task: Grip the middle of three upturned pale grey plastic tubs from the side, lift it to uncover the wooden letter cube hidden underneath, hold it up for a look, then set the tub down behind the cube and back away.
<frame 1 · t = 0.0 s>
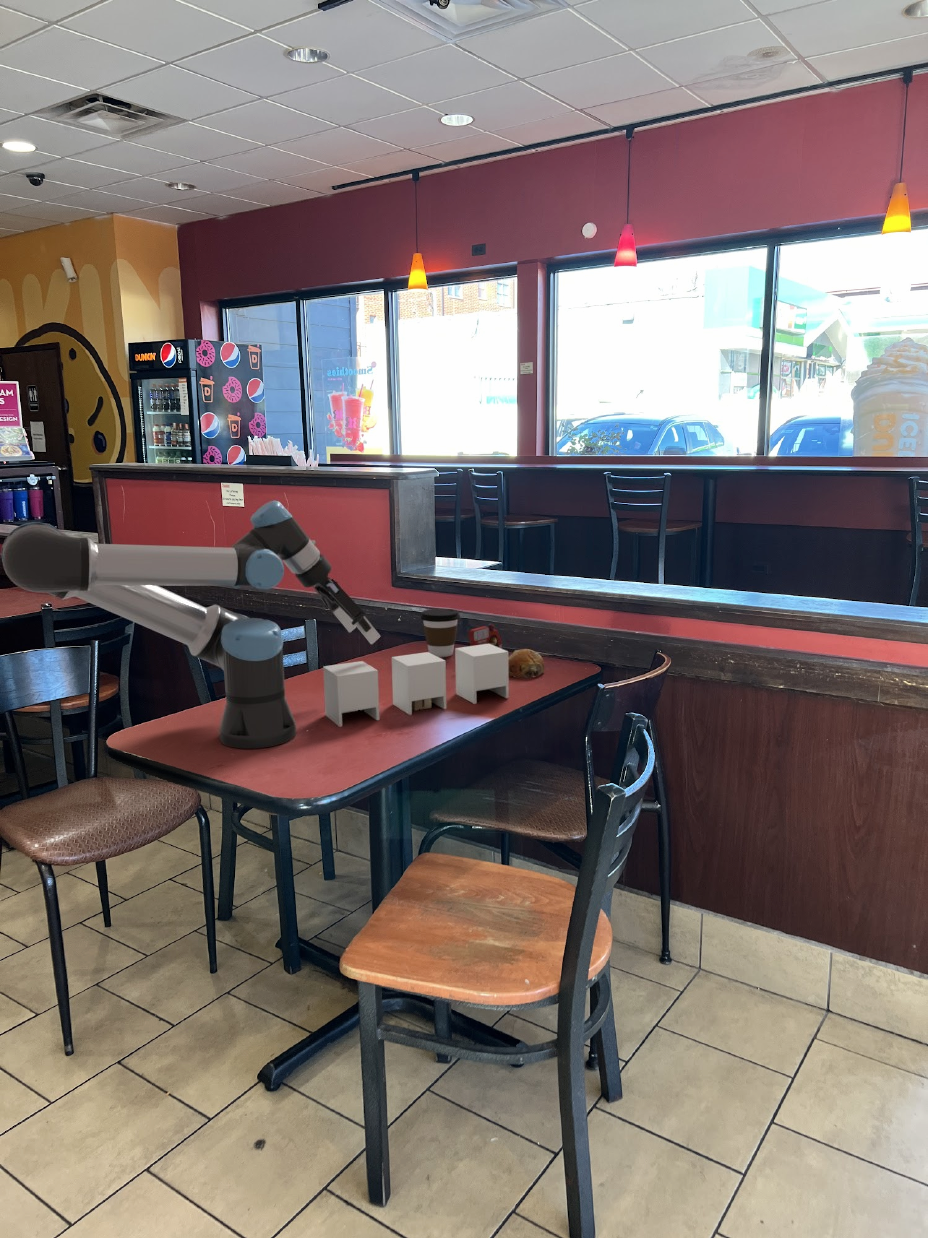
hand: (364, 634, 202), 15 cm above the table, tool tilted 35°, fingers open, 13 cm apart
coffee cup: (441, 655, 245), on the table
tub middle: (419, 706, 199), on the table
grey piece: (352, 717, 192), on the table
toy fire truck: (486, 664, 235), on the table
letter cube: (419, 698, 199), in the tub middle
tub right: (482, 695, 206), on the table
bread roll: (524, 674, 225), on the table
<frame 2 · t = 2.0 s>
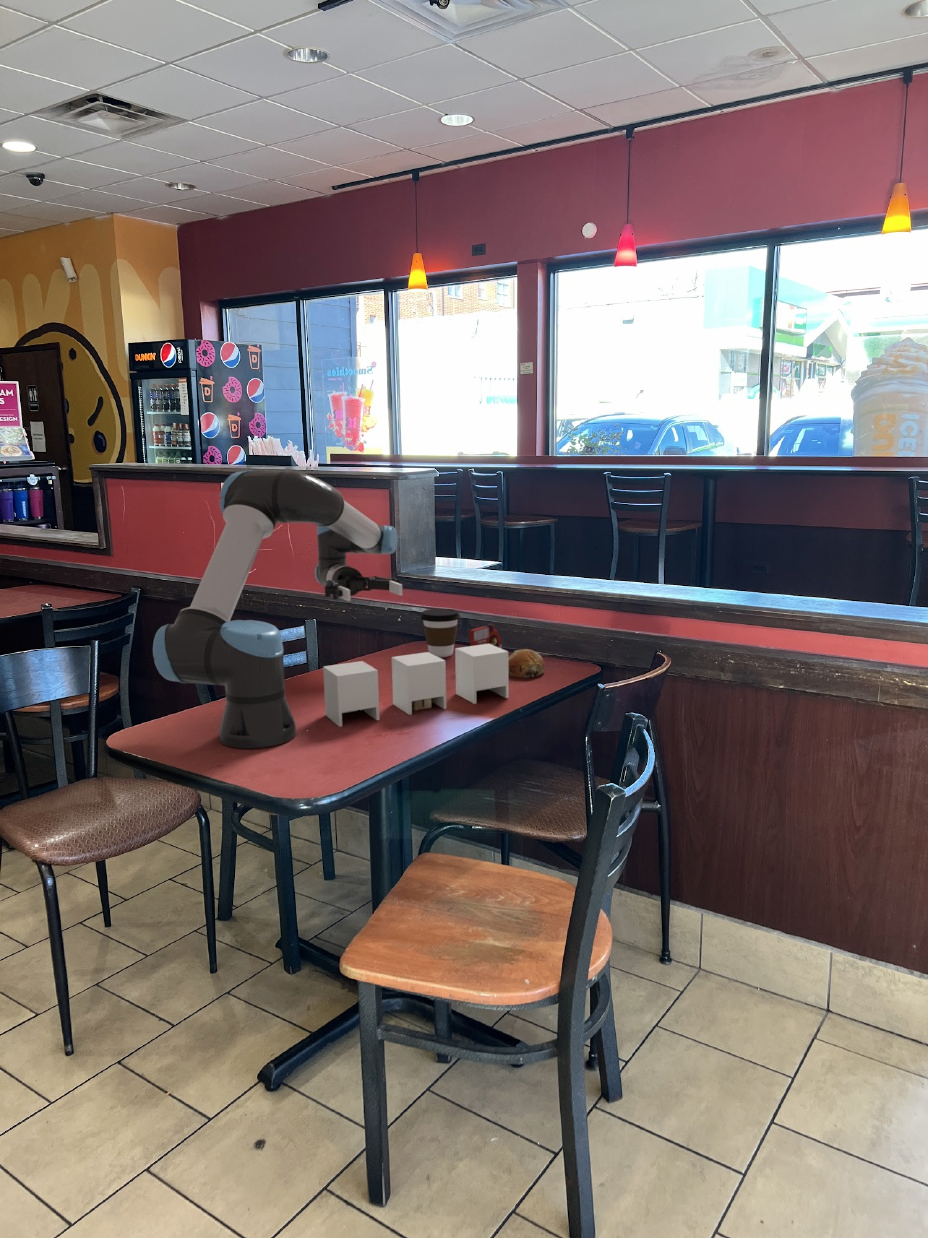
hand: (375, 592, 216), 22 cm above the table, tool horizontal, fingers open, 13 cm apart
nothing on the table moved.
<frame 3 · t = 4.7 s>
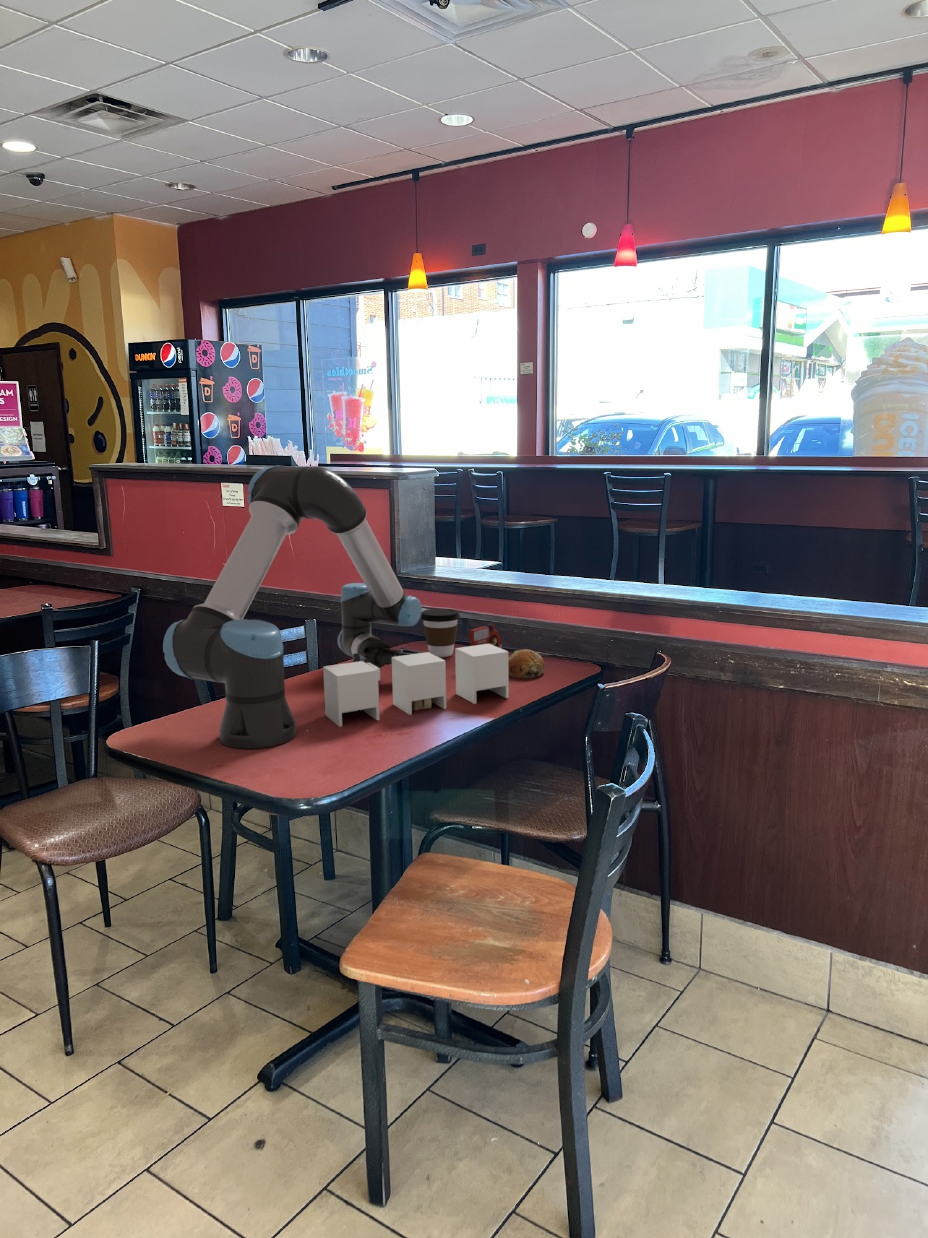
hand: (406, 670, 205), 6 cm above the table, tool horizontal, fingers open, 13 cm apart
nothing on the table moved.
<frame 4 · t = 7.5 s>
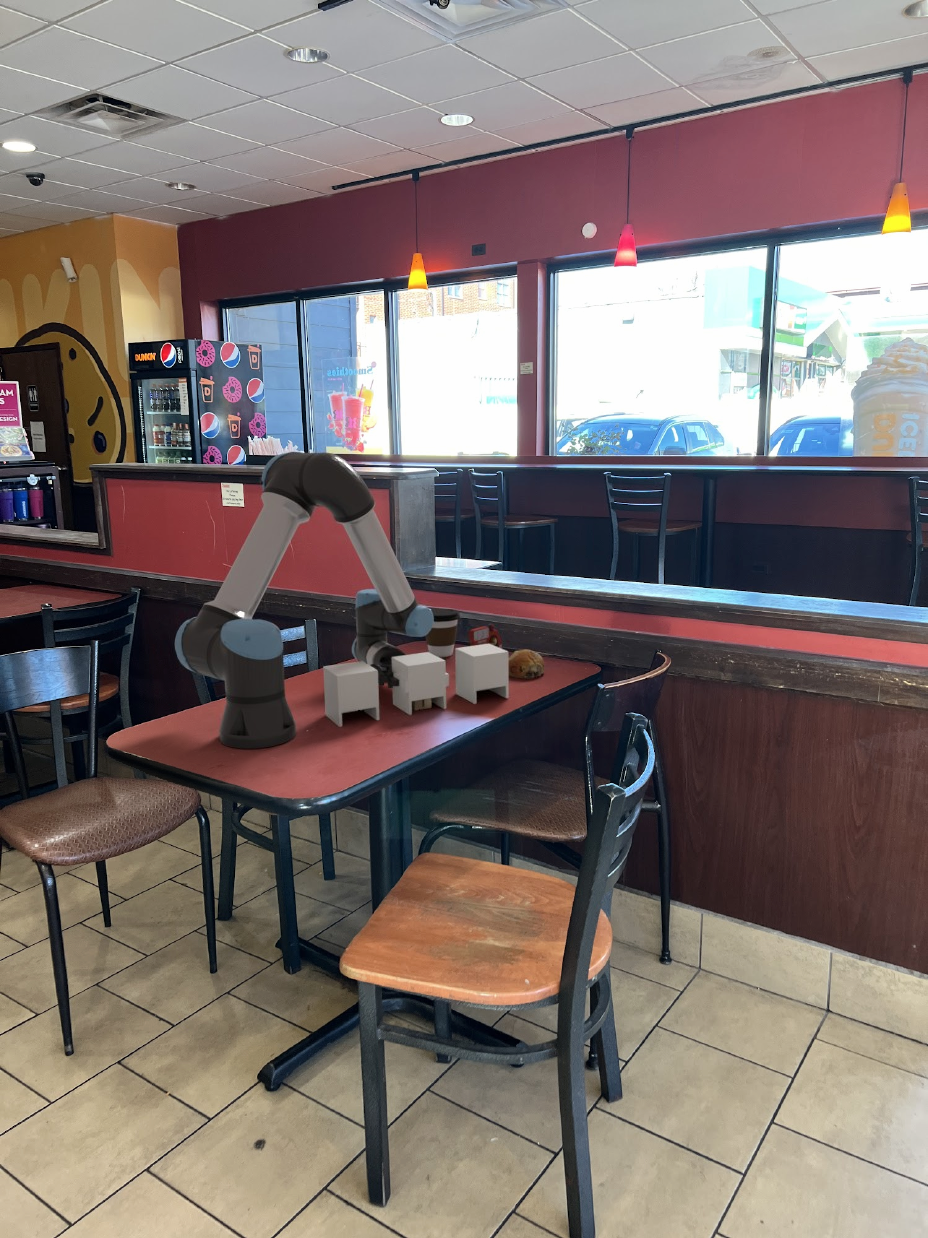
hand: (427, 683, 194), 7 cm above the table, tool horizontal, fingers closed on tub middle, 9 cm apart
tub middle: (419, 706, 199), on the table, touching gripper
everything else where it was.
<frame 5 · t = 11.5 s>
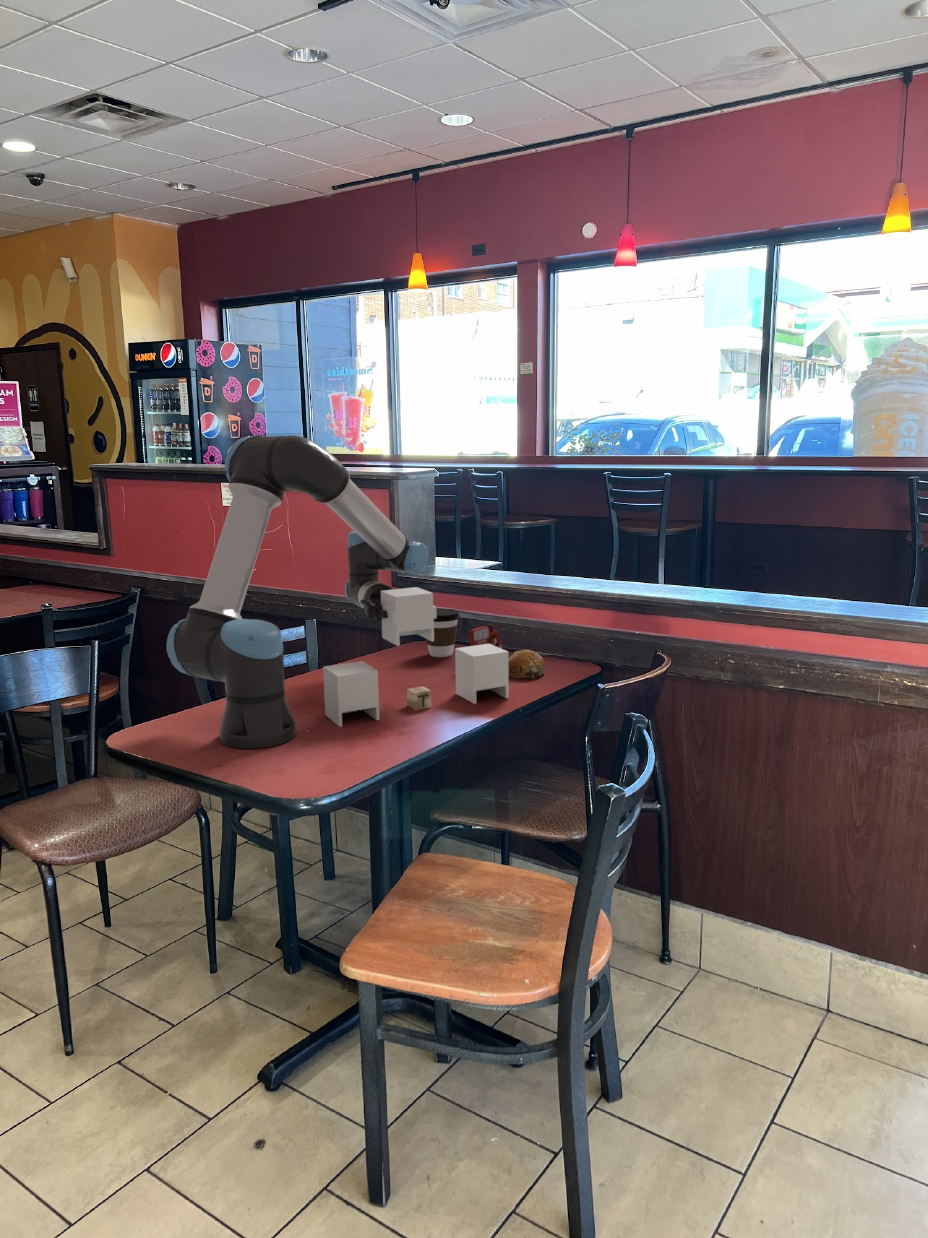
hand: (415, 614, 197), 20 cm above the table, tool horizontal, fingers closed on tub middle, 9 cm apart
tub middle: (407, 639, 202), point 14 cm above the table, touching gripper
everything else where it was.
when the fingers open (8 cm above the table, at t = 15.4 s): tub middle drops 1 cm, on the table.
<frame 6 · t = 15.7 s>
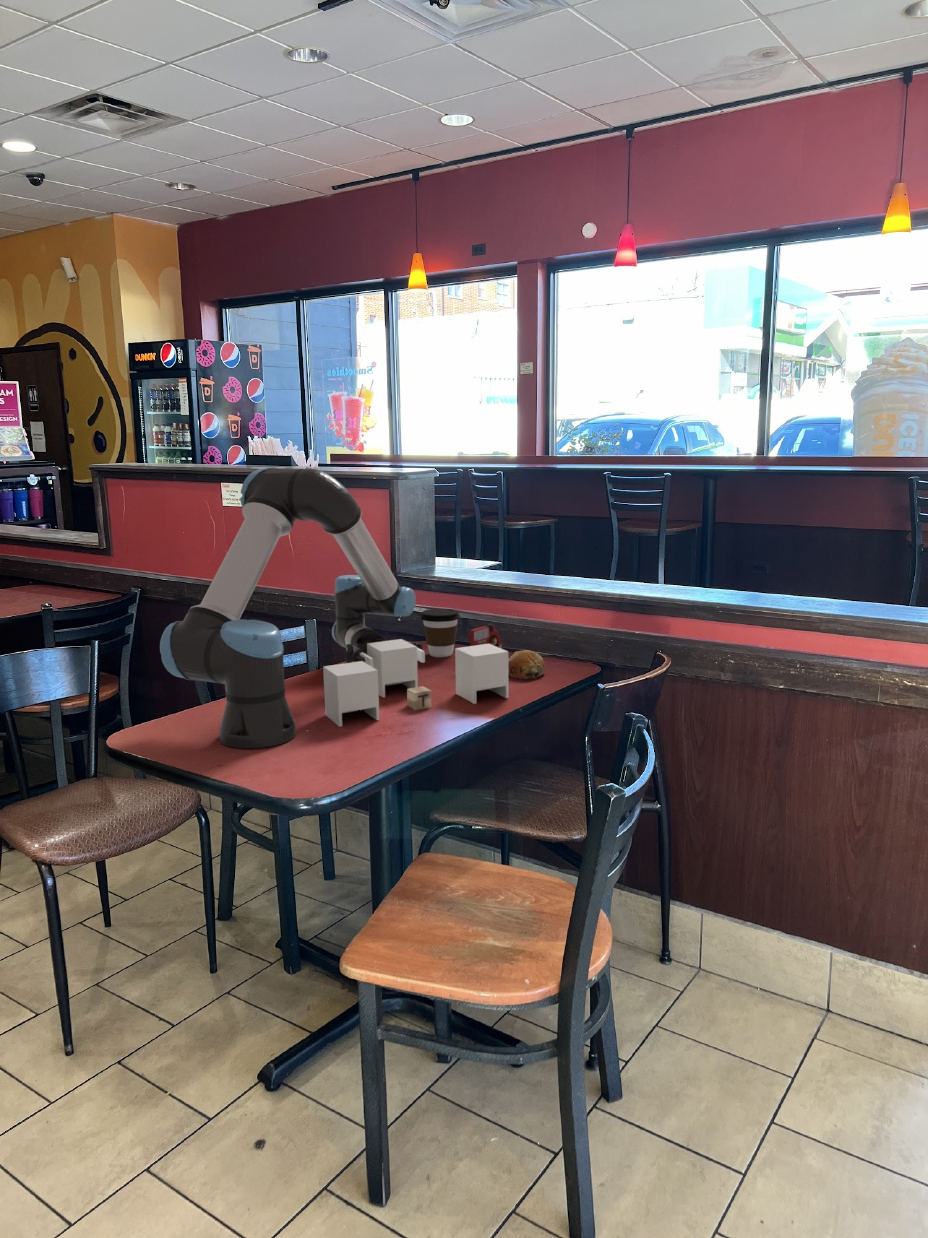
hand: (397, 660, 207), 8 cm above the table, tool horizontal, fingers open, 12 cm apart
tub middle: (393, 689, 212), on the table
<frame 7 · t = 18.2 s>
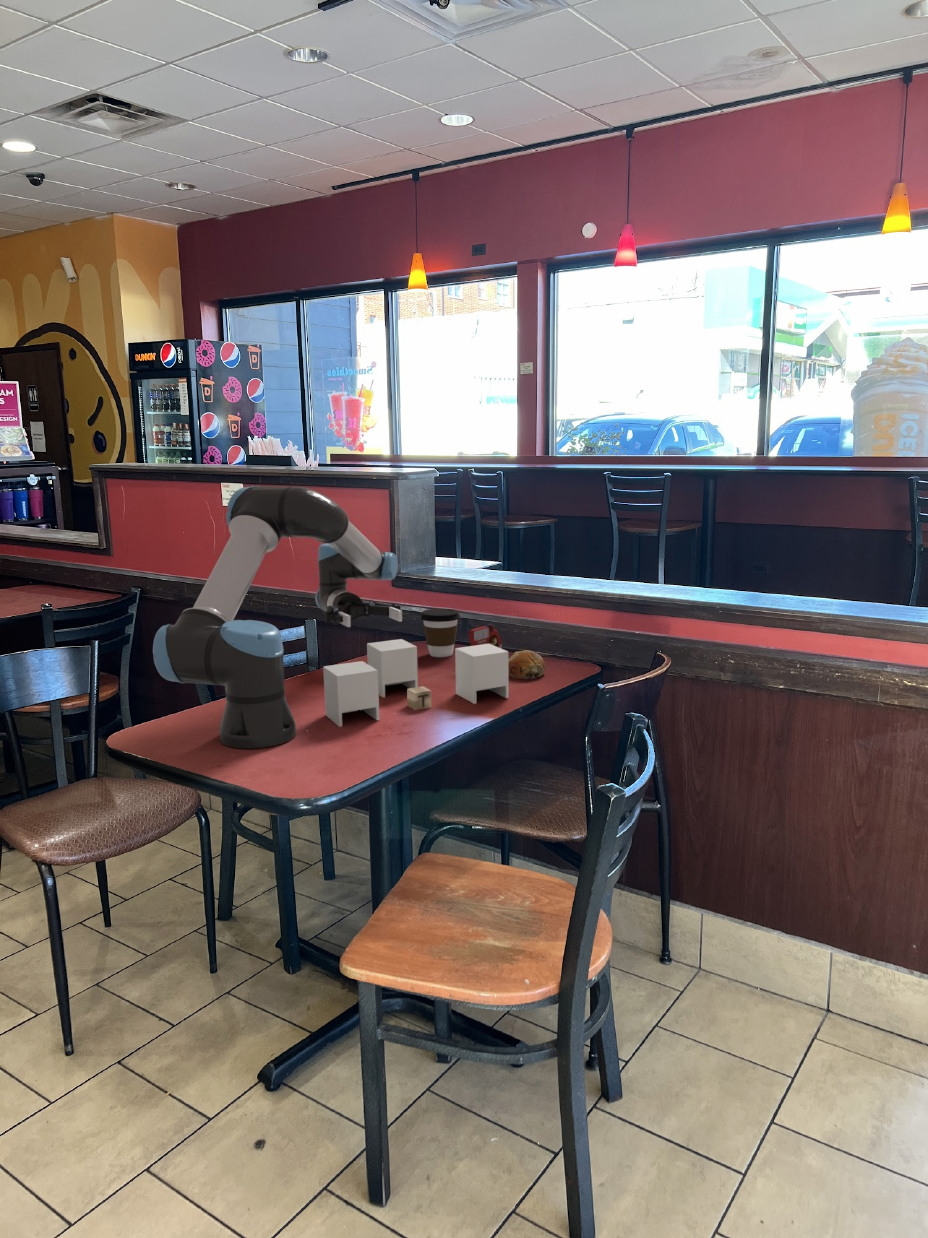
hand: (375, 618, 218), 15 cm above the table, tool horizontal, fingers open, 13 cm apart
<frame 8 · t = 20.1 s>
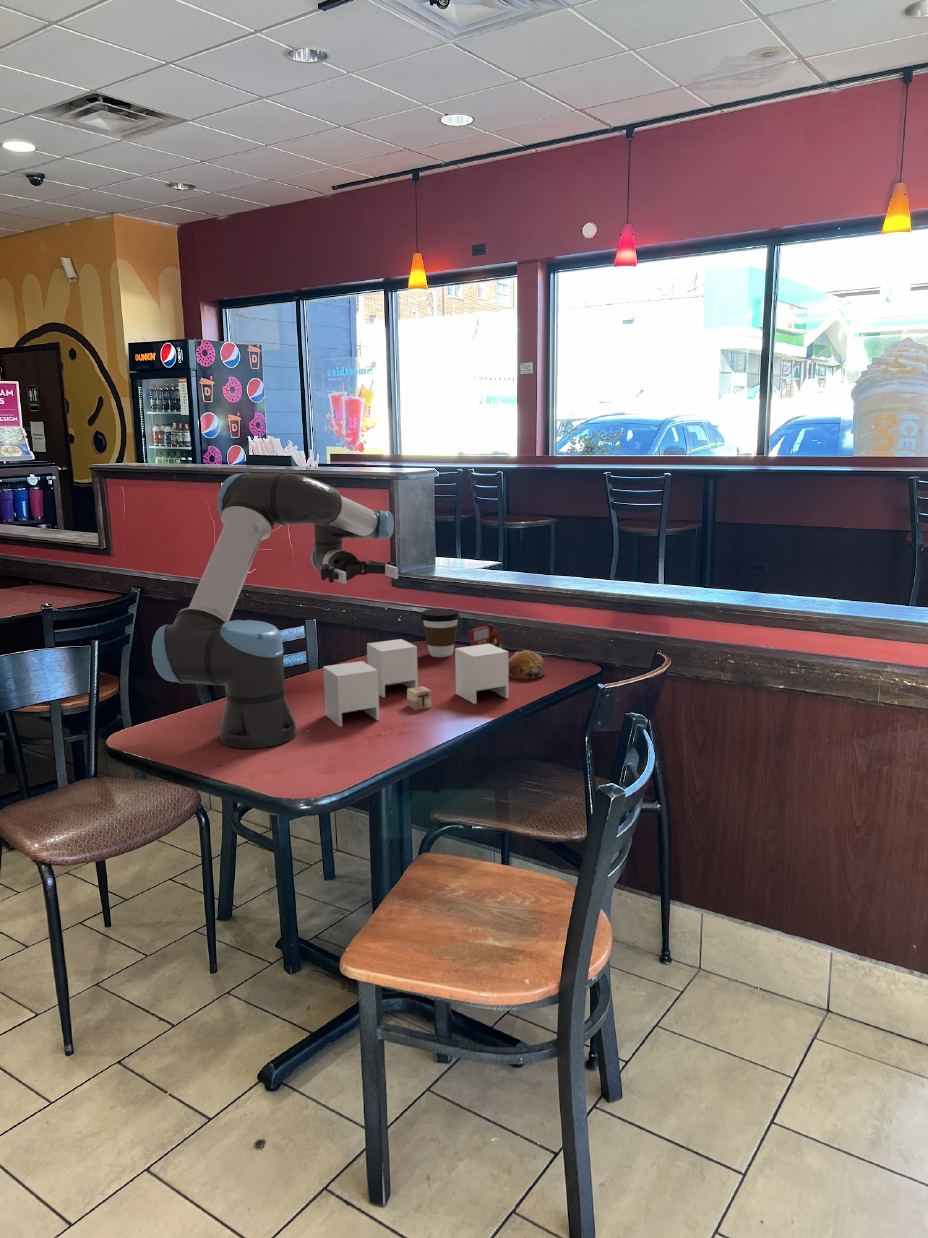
hand: (371, 575, 217), 26 cm above the table, tool horizontal, fingers open, 13 cm apart
at the end: tub middle inside the target area (0.4 cm from its centre), on the table; tub middle tilted 0°; letter cube moved 0.1 cm from its start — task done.
